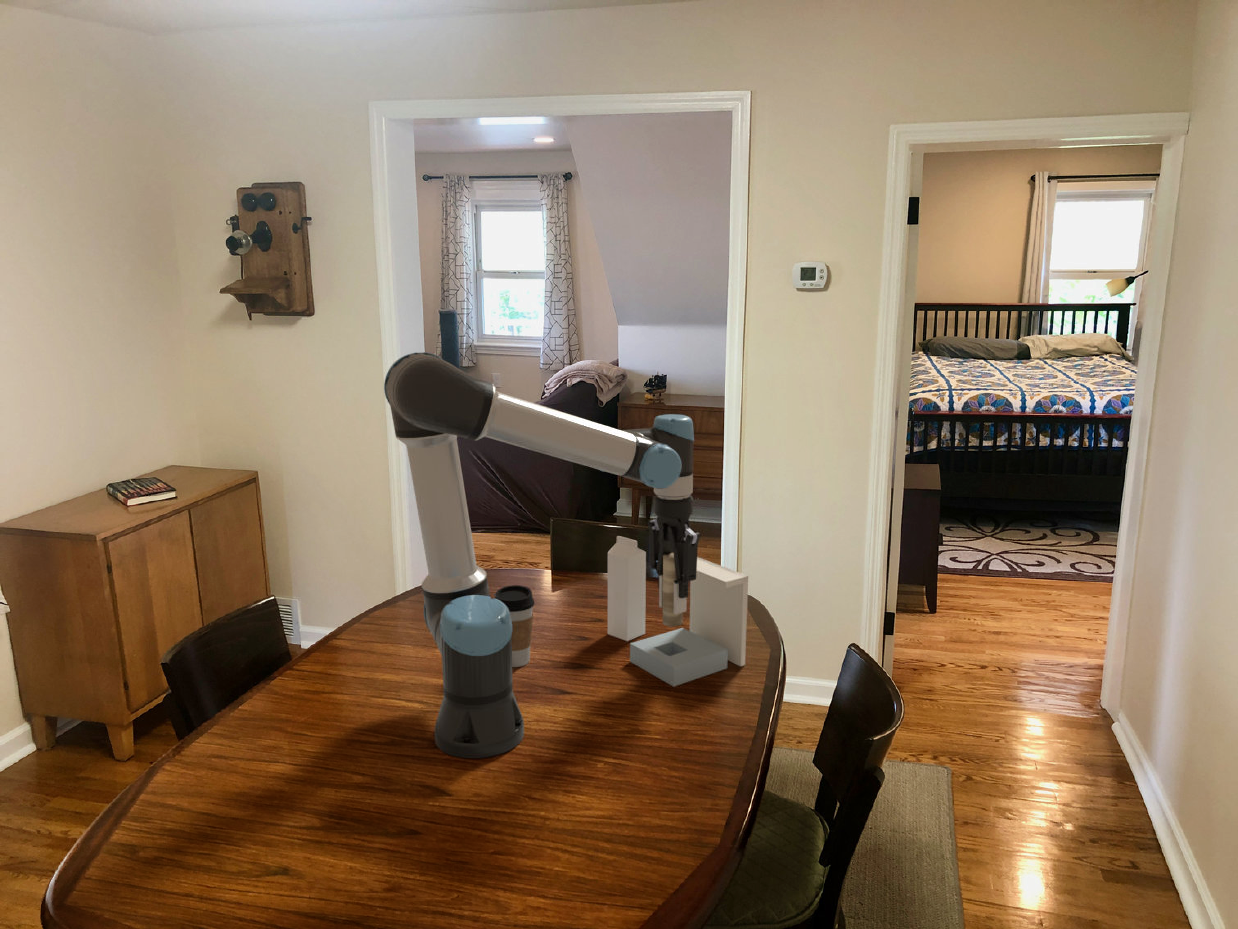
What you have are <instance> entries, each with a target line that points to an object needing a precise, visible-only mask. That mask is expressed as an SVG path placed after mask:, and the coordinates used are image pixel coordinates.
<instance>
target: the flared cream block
mask: <svg viewBox="0 0 1238 929" xmlns="http://www.w3.org/2000/svg"><path fill="white" fill-rule="evenodd" d="M689 583H690V587H689V588H690V589H689V590H690V592H689V594H690V595H689V601H690V602H689V631H690V632H692V633H694V634H696V635H699V636H701V637H703V638H705V639H707V640H709V641H711V642H713V643H715V644H717V645H719V646H721V647H723V648H725V649H727V650H728V660H727V661H729V662H730V663H733V664H735V665H737V666H738V667H743V666H746V652H747V651H746V650H747V645H746V644H747V624H748V623H747V620H748V618H747V617H748V595H749V594H748V590H749V589H748V588H749V576H748V575H746V574H743V573H741V572H738V571H736V570H734V569H730V568H728V567H726V566H723V565H720V564H719V563H718V564H717V563H715V562H712V561H709V560H707V559H704V558H702V557H699V556H697V572H696V580H693V581H690V582H689Z"/></svg>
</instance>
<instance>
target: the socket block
mask: <svg viewBox="0 0 1238 929" xmlns="http://www.w3.org/2000/svg"><path fill="white" fill-rule="evenodd" d="M728 661H729V660H728V650H727V649H725V648H723V647H721V646H719V645H717V644H715V643H713V642H711V641H709V640H707V639H705V638H703V637H701V636H699V635H696V634H694V633H692V632H690V630H688V629H686V628H684V627H681V628H678V629H674V630H671V631H667V632H665V633H660V634H657V635H653V636H651V637H647V638H644V639H641V640H637V641H636V640H635V641H634V642H630V643H629V662H630V663H632V664H634V665H636V666H637V667H639V668H640V669H642V670H644V671H646V672H648V673H649V674H651V675H652V676H654V677H656V678H658V679H660V680H661V681H663V682H664V683H666V684H668V685H670V686H672V687H677V686H679V685H682V684H685V683H688V682H691V681H694V680H696V679H700V678H703V677H706V676H709V675H711V674H715V673H717V672H720V671H724V670H726V669H728Z"/></svg>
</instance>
